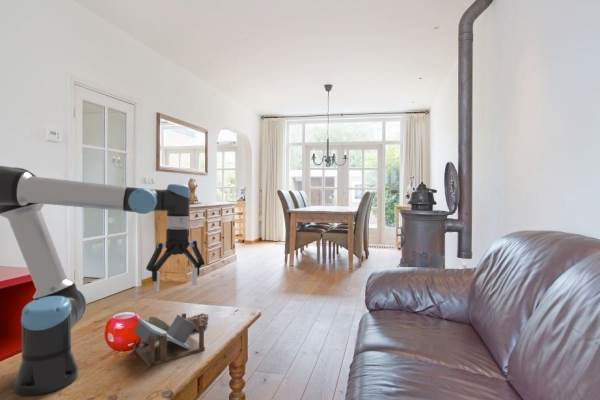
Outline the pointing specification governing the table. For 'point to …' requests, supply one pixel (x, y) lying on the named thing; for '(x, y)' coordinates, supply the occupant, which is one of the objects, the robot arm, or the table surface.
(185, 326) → the block
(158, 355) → the frame
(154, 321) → the stone
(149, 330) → the trapdoor
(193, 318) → the mineral specimen
